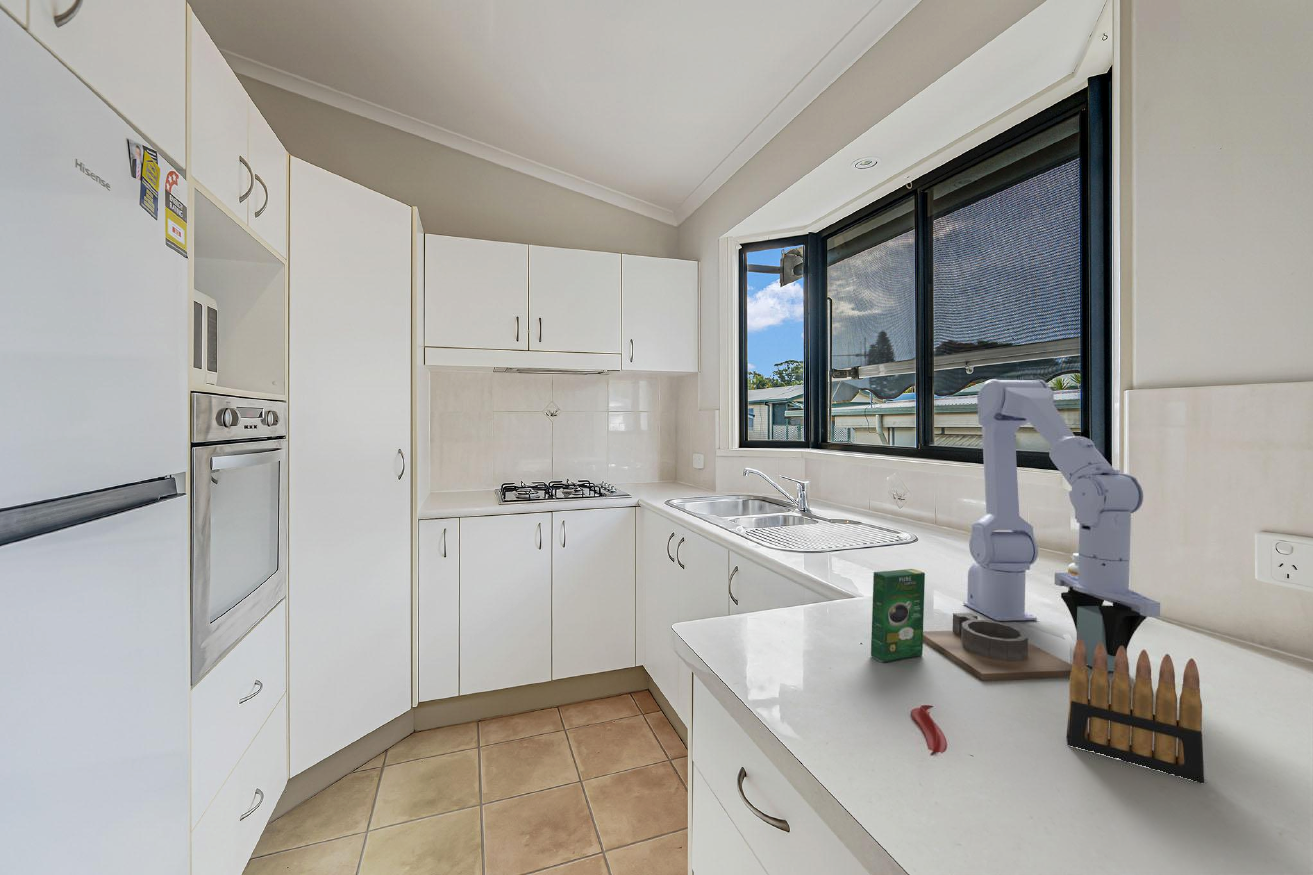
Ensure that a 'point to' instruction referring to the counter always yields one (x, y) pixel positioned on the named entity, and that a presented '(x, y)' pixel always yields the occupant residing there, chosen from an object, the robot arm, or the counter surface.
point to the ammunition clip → (1137, 713)
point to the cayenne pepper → (929, 729)
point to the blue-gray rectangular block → (1092, 633)
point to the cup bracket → (995, 650)
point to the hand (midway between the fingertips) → (1101, 648)
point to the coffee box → (897, 614)
